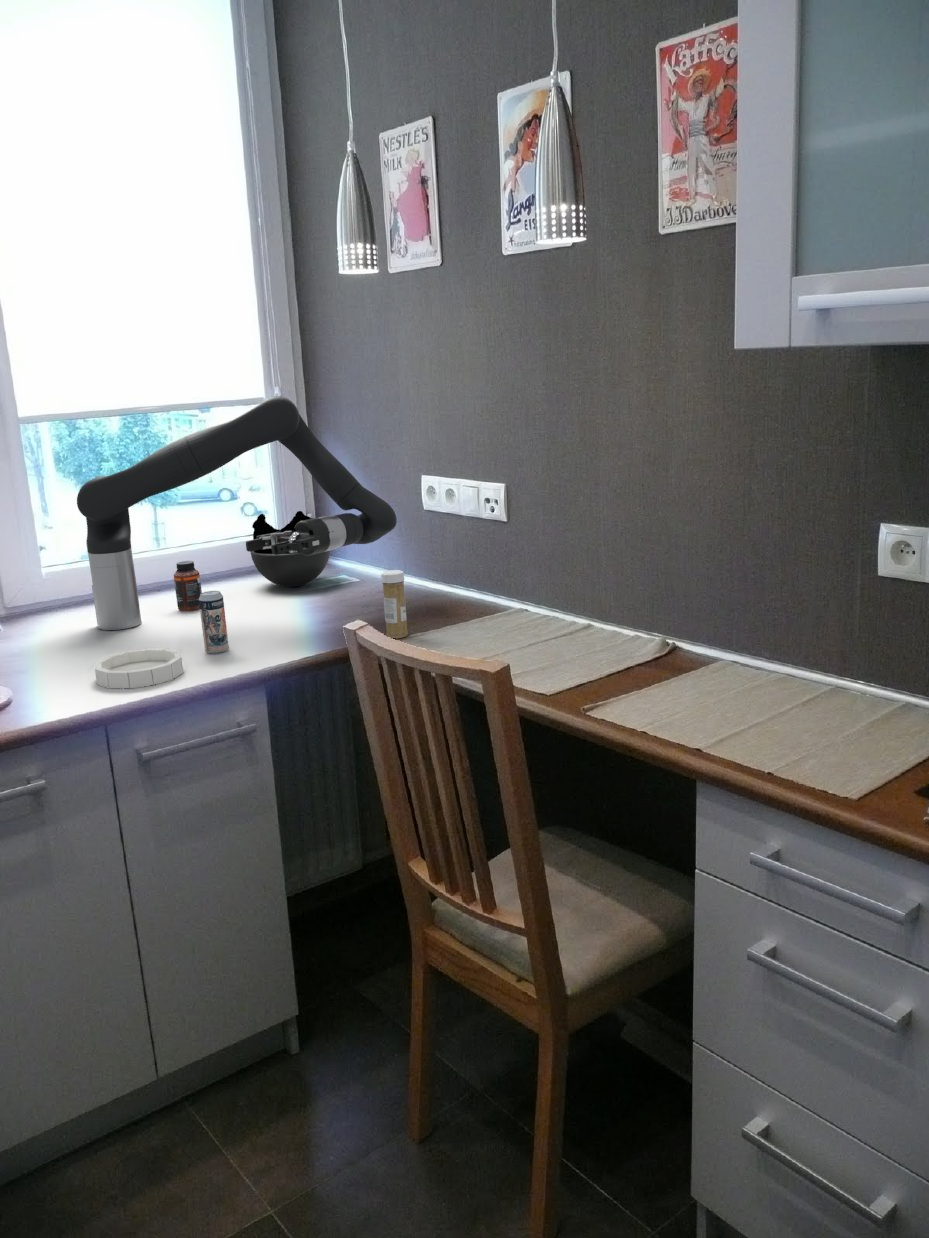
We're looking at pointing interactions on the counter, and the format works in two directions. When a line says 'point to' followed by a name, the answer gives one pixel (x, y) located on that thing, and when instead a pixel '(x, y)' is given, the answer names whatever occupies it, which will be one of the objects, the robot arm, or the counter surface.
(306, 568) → the coal bowl
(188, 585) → the supplement bottle
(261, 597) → the counter surface
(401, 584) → the sprinkles bottle
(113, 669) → the white segmented ring
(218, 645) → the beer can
